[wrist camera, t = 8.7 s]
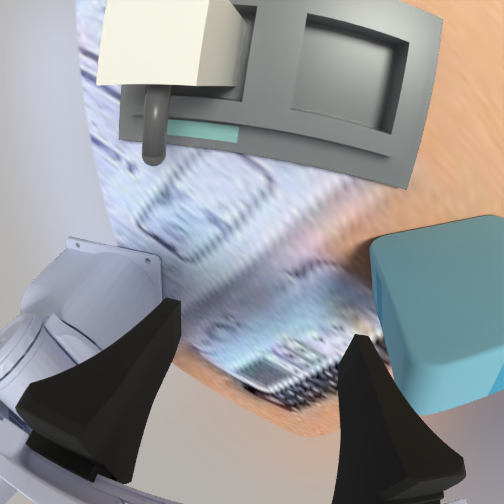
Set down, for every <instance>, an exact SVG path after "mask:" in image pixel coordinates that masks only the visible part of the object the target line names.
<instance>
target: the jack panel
mask: <svg viewBox="0 0 504 504" xmlns="http://www.w3.org/2000/svg"><path fill="white" fill-rule="evenodd" d="M229 1H230V2H231V3H232V5H233V6H234V7H235V9H236V10H237V11H238V13H239V14H240V15H241V17H242V18H243V19H244V21H245V22H246V24H247V25H246V31H245V37H244V43H243V49H242V56H241V62H240V68H239V75H238V82H237V86H189V85H171V94H170V104H169V115H168V127H167V141H166V144H176V145H185V146H194V147H202V148H210V149H217V150H224V151H231V152H238V153H244V154H250V155H256V156H262V157H268V158H273V159H279V160H284V161H289V162H295V163H300V164H304V165H309V166H314V167H319V168H323V169H328V170H332V171H336V172H341V173H345V174H349V175H353V176H357V177H361V178H365V179H369V180H373V181H377V182H380V183H384V184H388V185H391V186H395V187H398V188H402V189H405V190H407V187H408V184H409V180H410V177H411V174H412V170H413V167H414V164H415V160H416V157H417V153H418V149H419V146H420V142H421V138H422V134H423V130H424V126H425V122H426V118H427V113H428V109H429V104H430V100H431V95H432V90H433V85H434V79H435V74H436V68H437V62H438V56H439V49H440V41H441V33H442V24H443V19H442V18H439V17H437V16H435V15H433V14H431V13H429V12H426V11H424V10H422V9H419V8H417V7H415V6H412V5H410V4H407V3H405V2H402V1H399V0H229ZM145 94H146V84H122V87H121V101H120V120H119V140H130V141H143V122H144V107H145Z"/></svg>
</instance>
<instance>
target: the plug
mask: <svg viewBox="0 0 504 504" xmlns="http://www.w3.org/2000/svg"><path fill="white" fill-rule="evenodd" d="M246 25H247V24H246V22H245V21H244V19H243V18H242V17H241V15H240V14H239V13H238V11H237V10H236V9H235V7H234V6H233V5H232V3H231V2H230V1H229V0H108V1H107V6H106V11H105V17H104V23H103V29H102V36H101V44H100V52H99V61H98V71H97V83H96V85H118V84H146V94H145V107H144V122H143V141H142V158H143V161H144V162H145V163H146V164H147V165H149V166H157V165H159V164H161V163H162V162H163V161H164V159H165V156H166V141H167V127H168V115H169V104H170V94H171V85H189V86H237V82H238V75H239V68H240V62H241V56H242V49H243V43H244V37H245V31H246Z"/></svg>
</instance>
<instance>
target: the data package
mask: <svg viewBox="0 0 504 504" xmlns="http://www.w3.org/2000/svg"><path fill="white" fill-rule="evenodd" d="M369 251H370V262H371V275H372V290H373V299H374V303H375V306H376V310H377V313H378V317H379V320H380V324H381V327H382V331H383V335H384V339H385V342H386V346H387V350H388V354H389V358H390V363H391V367H392V371H393V376H394V380H395V383H396V385H397V387H398V388H399V390H400V391H401V393H402V394H403V396H404V397H405V399H406V400H407V401H408V403H409V404H410V405H411V407H412V408H413V409H414V411H415V412H416V413H417V414H418V415H429V414H434V413H437V412H441V411H444V410H448V409H451V408H454V407H457V406H460V405H463V404H466V403H469V402H472V401H475V400H477V399H480V398H483V397H485V396H488V395H491V394H493V393H495V392H498V391H500V390H503V389H504V218H502V217H499V216H494V215H486V216H480V217H475V218H470V219H465V220H460V221H455V222H450V223H445V224H440V225H435V226H430V227H425V228H420V229H414V230H409V231H404V232H399V233H394V234H388V235H384V236H381V237H379V238H377V239H376V240H374V241H373V242H372V244H371V246H370V249H369Z"/></svg>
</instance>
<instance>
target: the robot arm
mask: <svg viewBox="0 0 504 504" xmlns="http://www.w3.org/2000/svg"><path fill="white" fill-rule="evenodd" d="M78 243H79V244H78ZM66 247H67V248H66V250H64V251H63V252H62V253H61V254H60V255H59V256H58V257H57V258H56V259H55V260H54V261H53V262H52V263H50V264H49V265H48V266H47V267H46V268H45V269H44V270H43V271H42V272H41V273H40V275H38V277H36V278H35V279H34V281H32V283H31V284H30V285H29V287H28V288H27V290H26V292H25V294H24V297H23V300H22V303H21V308H20V315H18V316H17V317H16V318H14V319H13V320H12V321H11V322H9V323H8V324H7V325H6V326H5V327H4V328H3V329H2V330H1V331H0V504H5V503H6V502H7V501H8V500H9V499H10V498H11V497H12V496H13V495H14V494H15V493H16V492H17V490H18V491H19V492H21V493H22V494H23V495H25V496H26V497H27V498H29V499H30V500H32V501H33V502H35V503H36V504H125V503H128V504H181V503H178V502H174V501H171V500H167V499H164V498H161V497H157V496H154V495H151V494H148V493H145V492H142V491H139V490H137V489H134V488H131V487H128V486H125V485H123V484H127V483H129V482H131V481H132V477H133V472H134V467H135V463H136V459H137V455H138V451H139V447H140V443H141V439H142V436H143V432H144V429H145V426H146V422H147V419H148V416H149V413H150V410H151V407H152V404H153V402H154V399H155V397H156V394H157V392H158V390H159V388H160V386H161V384H162V381H163V379H164V377H165V375H166V373H167V371H168V369H169V366H170V364H171V362H172V360H173V358H174V356H175V353H176V350H177V347H178V344H179V341H180V337H181V301H178V300H174V299H170V298H165V299H164V300H163V301H162V281H161V260H160V258H159V257H158V256H157V255H154V254H149V253H144V252H139V251H134V250H130V249H125V248H120V247H115V246H111V245H106V244H101V243H96V242H92V241H88V240H83V239H78V238H74V237H68V238H67V239H66ZM147 258H148V259H150V261H148V260H147ZM338 397H339V412H340V428H341V441H340V454H339V464H338V473H337V479H336V485H335V491H334V496H333V500H332V504H440V500H441V499H443V498H444V493H443V491H444V490H447V489H449V488H450V487H452V486H454V485H456V484H458V483H459V482H461V481H462V480H463V479H464V478H465V477H466V471H465V465H464V460H463V457H462V456H460V455H459V454H458V453H456V452H455V451H454V450H453V449H451V448H450V447H449V446H448V445H447V444H445V443H444V442H443V441H442V440H441V439H440V438H439V437H438V436H437V435H436V434H435V433H434V432H433V431H432V430H431V429H430V428H429V427H428V426H427V425H426V424H425V423H424V421H423V420H422V419H421V418H420V417H419V416H418V414H417V413H416V412H415V411H414V409H413V408H412V407H411V405H410V404H409V403H408V401H407V400H406V399H405V397H404V396H403V394H402V393H401V391H400V390H399V388H398V387H397V385H396V383H395V382H394V380H393V379H392V377H391V375H390V373H389V372H388V370H387V368H386V367H385V365H384V363H383V361H382V359H381V358H380V356H379V354H378V352H377V350H376V349H375V347H374V345H373V343H372V341H371V340H370V338H369V336H365V335H358V334H355V335H354V337H353V339H352V341H351V343H350V345H349V347H348V349H347V350H346V352H345V354H344V356H343V358H342V360H341V361H340V363H339V369H338ZM113 480H114V481H113ZM118 482H119V483H118ZM121 483H122V484H121ZM124 502H125V503H124ZM445 504H467V500H466V498H463V499H459V500H455V501H452V502H448V503H445Z"/></svg>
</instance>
